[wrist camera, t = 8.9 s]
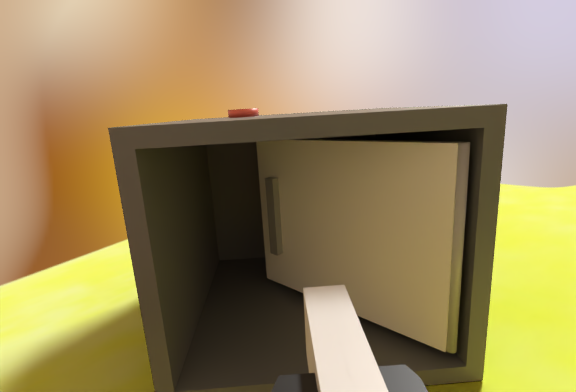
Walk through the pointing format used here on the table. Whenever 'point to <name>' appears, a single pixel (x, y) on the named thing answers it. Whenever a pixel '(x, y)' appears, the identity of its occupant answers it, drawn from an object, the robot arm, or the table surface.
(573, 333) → the table surface
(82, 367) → the table surface
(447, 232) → the side door
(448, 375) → the cabinet with door
